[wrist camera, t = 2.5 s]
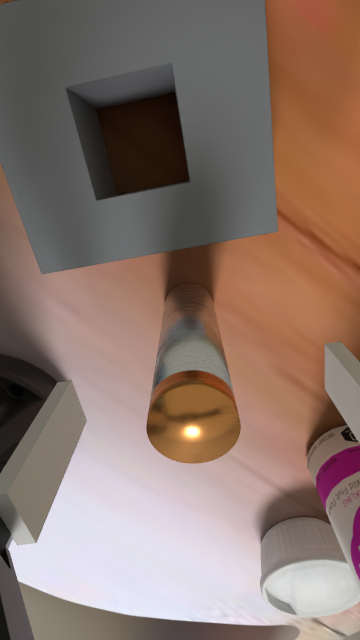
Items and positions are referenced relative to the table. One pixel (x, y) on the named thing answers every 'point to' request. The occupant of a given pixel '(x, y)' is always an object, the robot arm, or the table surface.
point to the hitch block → (125, 87)
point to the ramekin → (306, 569)
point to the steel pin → (191, 382)
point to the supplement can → (340, 488)
